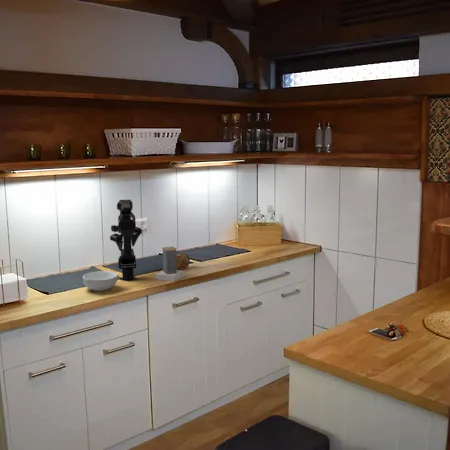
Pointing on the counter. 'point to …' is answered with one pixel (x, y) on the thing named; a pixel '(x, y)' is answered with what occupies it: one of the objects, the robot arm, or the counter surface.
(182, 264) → the mottled brown rounded slab
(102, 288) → the cereal bowl
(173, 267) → the block
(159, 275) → the stand
